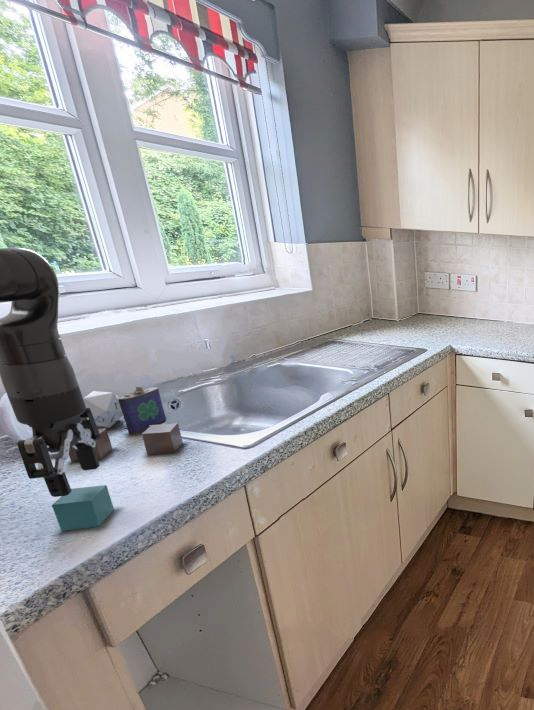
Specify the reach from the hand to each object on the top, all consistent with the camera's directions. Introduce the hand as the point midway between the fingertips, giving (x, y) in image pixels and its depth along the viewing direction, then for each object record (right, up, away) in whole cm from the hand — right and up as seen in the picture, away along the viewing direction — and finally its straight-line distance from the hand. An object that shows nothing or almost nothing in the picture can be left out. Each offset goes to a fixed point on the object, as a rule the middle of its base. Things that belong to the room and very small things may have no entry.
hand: (77, 481), depth 74 cm
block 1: (-20, +1, +23) cm, 30 cm away
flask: (-20, +6, +37) cm, 42 cm away
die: (-30, +7, +37) cm, 48 cm away
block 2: (-7, +2, +27) cm, 28 cm away
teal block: (-1, -7, +3) cm, 7 cm away
